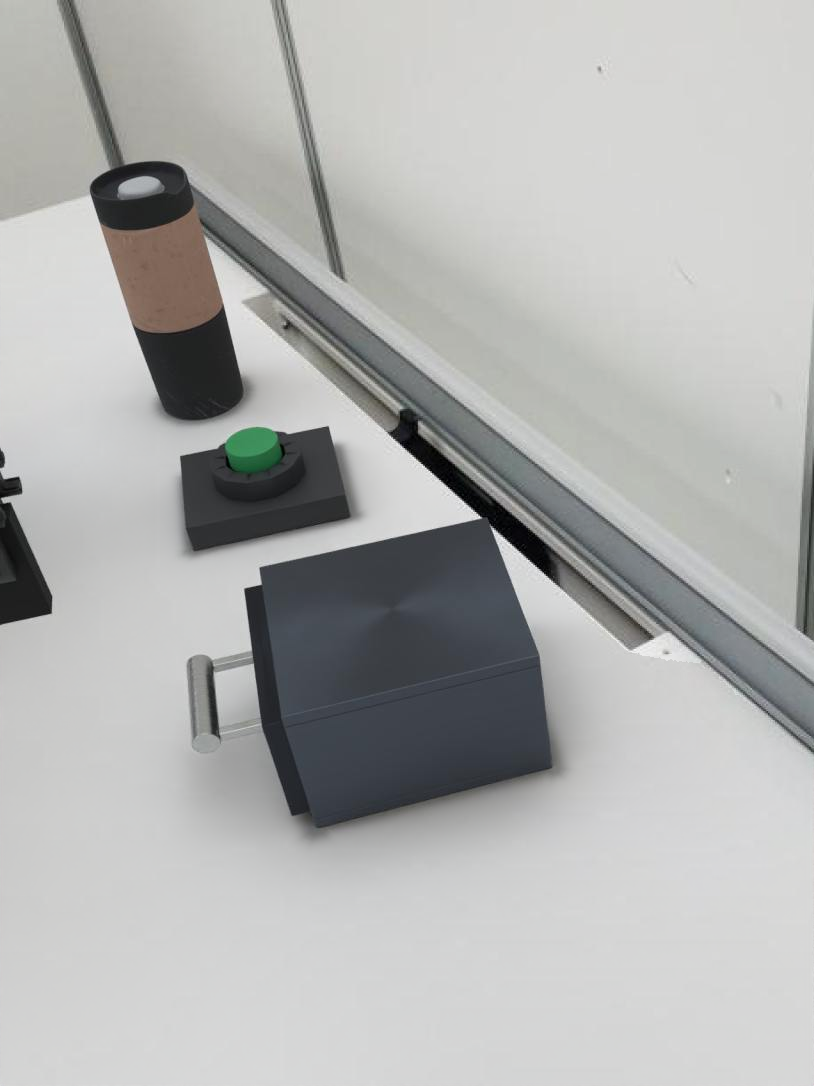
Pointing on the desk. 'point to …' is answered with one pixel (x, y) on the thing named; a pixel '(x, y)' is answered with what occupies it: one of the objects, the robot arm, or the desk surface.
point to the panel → (262, 491)
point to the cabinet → (404, 670)
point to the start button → (253, 450)
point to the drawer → (270, 723)
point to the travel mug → (169, 286)
